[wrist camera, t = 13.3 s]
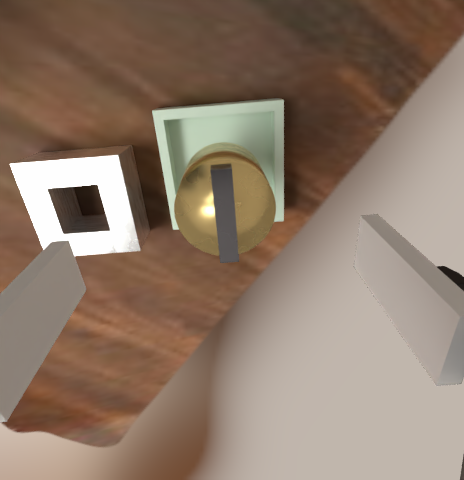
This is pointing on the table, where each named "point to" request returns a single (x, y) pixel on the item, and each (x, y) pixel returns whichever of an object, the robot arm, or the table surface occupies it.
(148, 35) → the table surface
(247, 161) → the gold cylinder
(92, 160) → the silver square block
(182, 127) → the tray
